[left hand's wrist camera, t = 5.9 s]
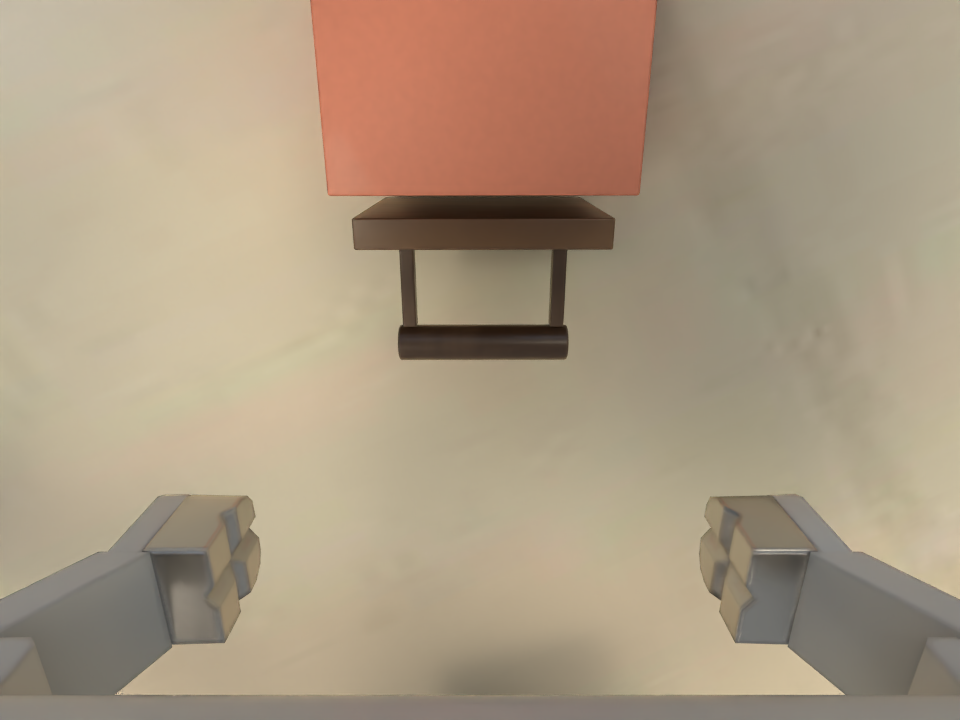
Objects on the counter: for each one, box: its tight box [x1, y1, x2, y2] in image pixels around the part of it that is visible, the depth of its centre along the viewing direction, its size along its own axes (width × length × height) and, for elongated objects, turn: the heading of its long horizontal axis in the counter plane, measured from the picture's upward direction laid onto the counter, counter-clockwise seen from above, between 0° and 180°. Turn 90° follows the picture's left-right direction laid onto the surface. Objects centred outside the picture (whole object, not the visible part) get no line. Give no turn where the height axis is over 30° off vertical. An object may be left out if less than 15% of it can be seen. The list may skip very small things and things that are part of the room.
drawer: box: [352, 197, 615, 360], centre depth 24 cm, size 24×10×8 cm, turn 0°
